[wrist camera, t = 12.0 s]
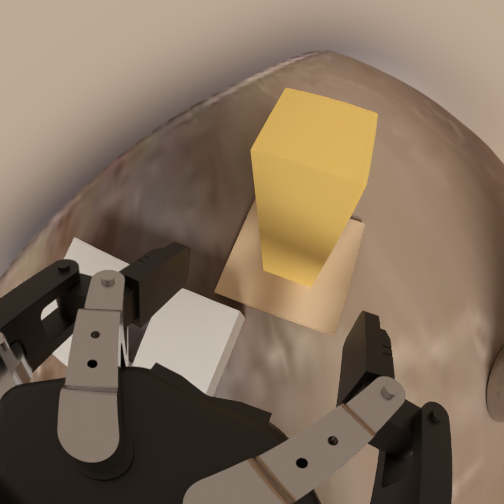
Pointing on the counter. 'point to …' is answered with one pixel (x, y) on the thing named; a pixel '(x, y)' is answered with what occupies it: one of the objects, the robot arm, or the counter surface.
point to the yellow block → (309, 179)
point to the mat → (284, 290)
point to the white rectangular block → (171, 328)
